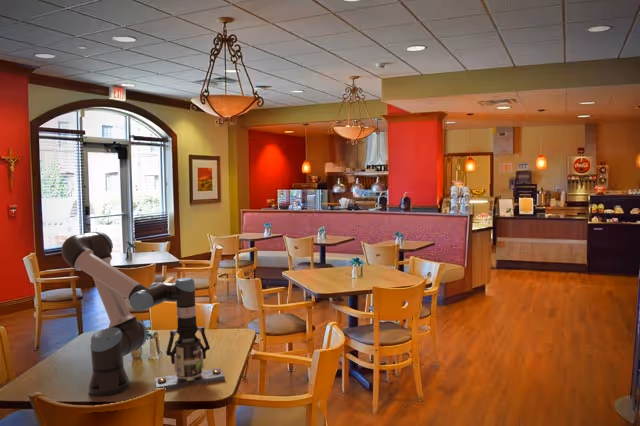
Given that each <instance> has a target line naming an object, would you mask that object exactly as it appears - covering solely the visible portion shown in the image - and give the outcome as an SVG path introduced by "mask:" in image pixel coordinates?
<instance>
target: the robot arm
mask: <svg viewBox="0 0 640 426" xmlns="http://www.w3.org/2000/svg"><path fill="white" fill-rule="evenodd" d="M113 244H114V243H113V240H112V239H111V238H110V236H109V235H107V233H104V232H102V231H90V232H87V233H82V234H75V235H72V236H69V237H68V238H66V239H65V240H64V241H63V243H62V245H61V248H60V249H61V251H60V253H61V256H62V258H63V260H64V262H65V263H66V264H68V266H70V267H71V268H72V269H74V270H76V271H77V272H78V271H83V273H85V274H87V275H89V276H90V277H92V279H93V281H94V285H95V287H96V289H97V292H98V295H99V296H100V300H101V302H102V305H103V307H104V309H105V311H106V314H107V318H108V319H109V325H108V327H105V328H103V329H100V330H98V331H96V332H95V333H93V334H92V336H91V338H90V349H91V350H90V351H91V365H92V366H91V367H92V374H91V377H90V381H89V384H88V393H89V394H90V395H92V396H95V397H98V396H99V397H104V396H105V397H106V396H114V395H115V394H120V393H122V392H124V391H125V390H127V389H128V388H130V380H129V376H128V375H127V372H126V369H125V367H124V357H125V356H127V355H129V354H131V353H133V352H134V351H135V352H136V351H137V350H139V349H140V348H141V347H143V346H144V345H145V344H146V341H147V339H148V329H147V326H146V325H145V324H144V323H143V322H142V321H140V320H138V319H137V317H136V315H133V314H132V313H131V312H130V309H129V307H128V305H127V302H126V300H127V301H129V305H130V307H131V308H132V309H133V311H136V312H142V311H147V310H149V309H151V308H152V307H155V306H157V305H160V304H162V303H164V302H176V315H177V320H176V321H177V329H175V330H172V329H171V330H170V331H169V334H170V335H169V341H168V344H167V348H166V351H165V353H166V355H167V356H169V357H170V361H171V365H174V366H173V367H174V372H175V373H177V359H176V346H175V345H174V346H173V343H174V340H175V337H176V335H178V339H177V340H176V341H177V343H178V344H180V343H181V342H182V340H183V339H188V338H189V339H191V338H194V340H195V341H199V340H198V336H197V335H196V334H197V332H198V331H199V333H200V334H201V338H202V339H203V342H204V345H205V346H204V345H203V343H201V342H202V341H201V342H200V345H201V367H202V369H204V367H205V366H204V360H206V358H207V356H206V354H207V353H206V352H207V351H209V350H210V349H211V347H210V344H209V342H208V338H207V337H206V333H205V332H206V331H205V327H204V325H201V326H197V316H196V314H197V309H196V308H197V306H196V305H197V304H196V286H195V285H196V284H195V280H194V279H193V278H192V277H180V278H177V279H176V280H175V282H162V281H159V282H152V283H151V284H150V285H149V286H148V287H146V286H145V285H143V284H141V283H140V282H138V281H137V280H135V279H133V278H132V277H130V276H128V275H127V274H126V273H123V272H122V271H120V270H119V269H118V268H115V267H114V266H113V265H111V261H112V259H113V257H112V252H113V248H114V245H113Z"/></svg>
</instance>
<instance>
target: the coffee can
mask: <svg viewBox="0 0 640 426" xmlns="http://www.w3.org/2000/svg"><path fill="white" fill-rule="evenodd" d="M197 338H198V337H197ZM198 340H199V341H195V340H194V338H191V339H189V338H188V339H183V340H182V342H181V343H180V344H178V343H177V340H175V342H174V346H176V353H175V354H176V359H177V372H176V375H177V377H178V378H181V379H187V380H188V379H189V380H191V379H193V378H195V377H198V376H200V375H201V374H202V371H203V368H202V367H201V351H202V349H201V345H200V342H202V341H201V339H200V337H199V338H198Z"/></svg>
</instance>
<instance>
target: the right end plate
mask: <svg viewBox="0 0 640 426" xmlns="http://www.w3.org/2000/svg"><path fill="white" fill-rule="evenodd" d="M225 376H226V375H224V372H223V371H222V368H221V367H217V368H216V367H215V368H211V369H210V368H209V369H205V370H204V369H202V374H201V375H200V376H198V377H195V378H192V380H193V382H194V386H200V385H201V386H202V385H207V383H208V384H213V382H214V383H218V382H225V380H226V378H225Z"/></svg>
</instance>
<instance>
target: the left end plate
mask: <svg viewBox="0 0 640 426" xmlns="http://www.w3.org/2000/svg"><path fill="white" fill-rule="evenodd" d="M154 385H155V389H156V388H163V387H164V388H166V391H173V390H177V389H184V388H188V387H189V384H188V379H181V378H178V377H177V374H173V375H166V376H161V377H155V378H154Z"/></svg>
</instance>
